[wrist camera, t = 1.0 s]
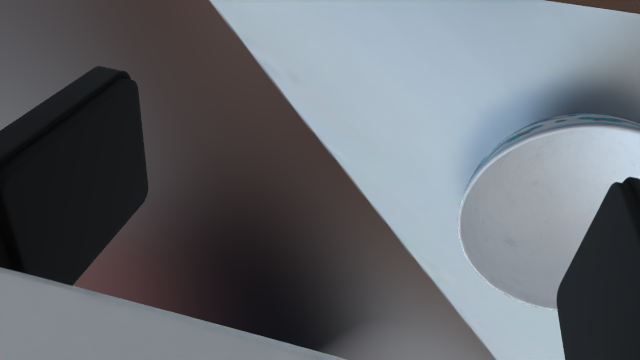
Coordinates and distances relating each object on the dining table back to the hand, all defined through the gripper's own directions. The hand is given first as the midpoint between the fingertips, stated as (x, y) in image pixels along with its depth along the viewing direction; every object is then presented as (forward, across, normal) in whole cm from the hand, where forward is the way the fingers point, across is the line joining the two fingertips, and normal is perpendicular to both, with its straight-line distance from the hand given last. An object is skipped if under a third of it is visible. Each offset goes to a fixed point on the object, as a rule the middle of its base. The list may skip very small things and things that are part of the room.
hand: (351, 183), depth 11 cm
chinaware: (+29, -13, +15) cm, 35 cm away
